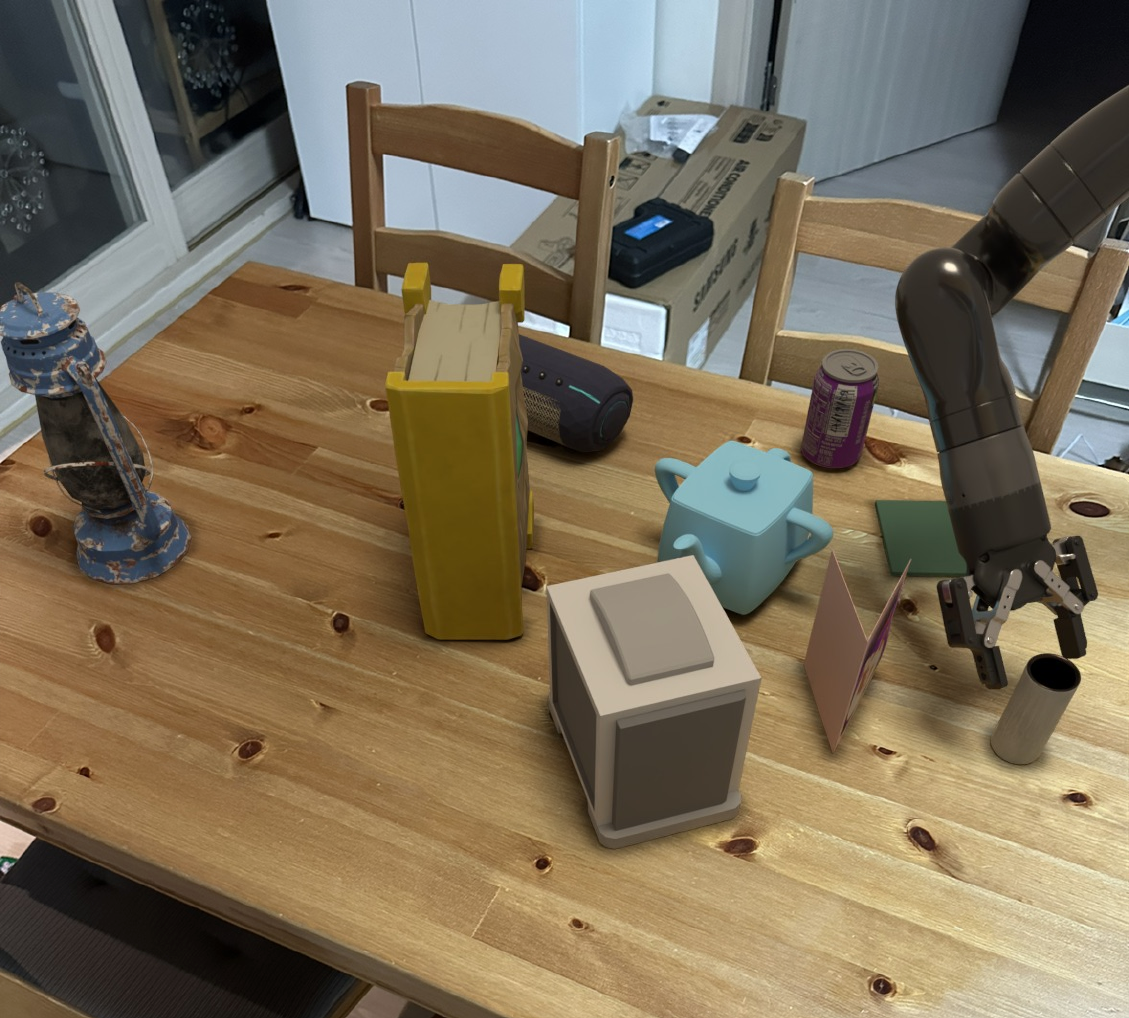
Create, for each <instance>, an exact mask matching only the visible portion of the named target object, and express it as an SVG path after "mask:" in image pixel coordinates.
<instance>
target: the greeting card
mask: <svg viewBox="0 0 1129 1018" xmlns="http://www.w3.org/2000/svg"><path fill="white" fill-rule="evenodd" d="M910 562H911V559H910V561H909V563H908V565H907V567H906V569H905V571H904V573H903V575H902V576H900V578H899V581H898V583H897V584H896V586H895V588H894V589H893V591H892V593H891V595H890V598H889V599H888V601H887V603H886V604H885V607H884V609H883V610H882V612H881V614H880V617H879V618H878V620H877V622H876V624H875V626H874V627H873V629H872V631H871V633H870V635H869V637H868V638H867V636H866V633H865V630H864V627H863V626H862V623H861V620H860V618H859V615H858V612H857V609H856V607H855V603H854V602H853V599H852V597H851V594H850V591H849V589H848V588H849V587H848V586H847V584H846V581H845V579H844V576H843V573H842V570H841V568H840V565H839V562H838V560H837V557H836V555H835V551H834V549H833V548H831V551H830V555H829V559H828V563H827V567H826V570H825V571H826V572H825V576H824V579H823V583H822V588H821V591H820V595H819V600H818V604H817V607H816V608H817V609H816V612H815V616H814V620H813V624H812V628H811V632H810V637H809V641H808V644H807V648H806V653H805V657H804V661H803V667H804V670H805V673H806V676H807V679H808V682H809V685H810V688H811V692H812V694H813V697H814V701H815V704H816V707H817V710H818V713H819V716H820V718H821V719H820V720H821V722H822V726H823V728H824V731H825V735H826V737H827V741H828V744H829V747H830V750H831V753H832V754H834V753H835V751H836V749H837V747H838V745H839V743H840V742H841V740H842V738H843V735H844V734H845V732H846V730H847V727H848V726H849V724H850V722H851V719H852V718H853V716H854V714H855V712H856V710H857V708H858V706H859V705H860V703H861V701H862V698H863V697H864V694H865V692H866V690H867V688H868V687H869V684H870V683H871V681H872V679H873V677H874V676H875V672H876V669H877V668H878V666H879V663H880V661H881V660H882V658H883V655H884V652H885V650H886V647H887V644H888V639H889V634H890V630H891V625H892V621H893V617H894V613H895V611H896V607H897V604H898V603H899V602H898V601H899V600H900V597H901V595H902V592H903V590H904V587H905V586H906V582H907V580H906V577H907V576H906V574H907V571H908V568H909V565H910Z"/></svg>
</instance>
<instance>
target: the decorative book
mask: <svg viewBox="0 0 1129 1018" xmlns="http://www.w3.org/2000/svg"><path fill="white" fill-rule="evenodd" d="M430 275H431V273H430V267H429V263H428V262H409V263H407V266H406V270H405V273H404V276H403V279H402V284H401V289H400V290H401V296H402V304H403V311H404V315H403V317H404V322H403V324H404V325H403V326H404V327H403V329H404V331H403V333H404V335H403V336H404V338H403V343H404V345H403V348H404V349H403V351H402V354H401V356H399V357H398V356H397V358H396V360H395V364H394V368H393V371H388V372H387V376H386V379H385V382H384V383H385V384H384V385H385V394H386V400H387V408H388V414H389V419H390V420H389V421H390V426H391V427H390V428H391V434H392V441H393V447H394V453H395V460H396V461H395V462H396V468H397V473H398V479H399V485H400V486H399V487H400V492H401V496H402V502H403V503H402V504H403V509H404V514H405V519H406V524H407V529H408V537H409V545H410V546H409V547H410V553H411V559H412V564H413V572H414V577H415V578H414V579H415V583H416V589H417V596H418V601H419V605H420V606H419V607H420V611H421V616H422V621H423V626H424V632H425V634H426V635H429V636H430V637H432V638H434V639H436V640H499V641H500V640H502V641H503V640H504V641H505V640H507V641H508V640H511V639H514V638H518V637H521V636H523V633H524V616H523V597H522V586H523V580H524V574H525V569H526V562H527V550H530V549H533V544H534V533H535V532H534V531H535V504H534V495H533V491H532V490H531V486H530V485H531V484H530V476H529V474H530V473H529V465H528V464H529V463H528V454H527V453H528V452H527V441H528V430H527V428H528V420H527V413H526V406H525V399H524V392H523V384H522V377H521V368H522V363H523V358H522V354H521V350H520V346H519V334H520V333H519V323H520V324H521V323H522V324H523V323H524V322H525V319H526V318H525V312H526V311H525V310H526V309H525V307H526V306H525V305H526V303H525V302H526V299H525V295H526V294H525V293H526V292H525V291H526V290H525V289H526V287H525V268H524V265H523V264H522V263H503V264H502V267H501V271H500V274H499V281H498V300H497V301H492V302H487V303H482V304H463V303H462V304H461V303H460V304H459V303H458V304H451V303H444V302H441V301H440V302H439V301H436V300H432V283H431V282H432V281H431V276H430Z"/></svg>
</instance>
